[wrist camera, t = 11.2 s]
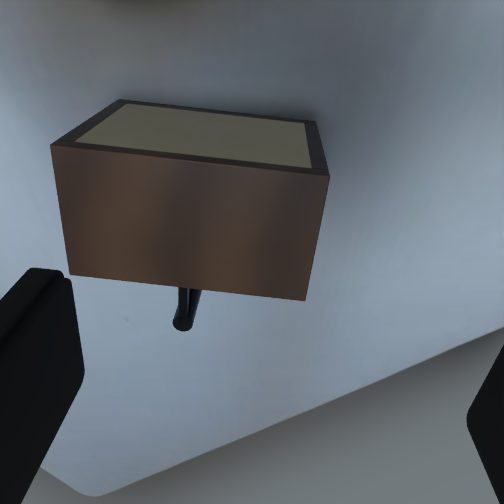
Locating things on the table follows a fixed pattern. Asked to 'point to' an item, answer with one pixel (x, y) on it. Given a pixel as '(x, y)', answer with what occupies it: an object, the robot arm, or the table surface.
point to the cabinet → (192, 198)
